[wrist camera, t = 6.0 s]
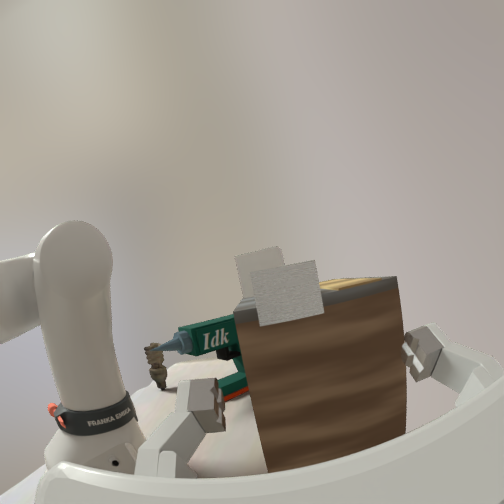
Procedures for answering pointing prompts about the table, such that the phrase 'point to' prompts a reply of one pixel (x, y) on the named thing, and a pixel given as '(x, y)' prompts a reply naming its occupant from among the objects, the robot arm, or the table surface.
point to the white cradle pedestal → (256, 266)
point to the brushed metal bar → (287, 293)
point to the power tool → (213, 349)
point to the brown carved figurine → (156, 365)
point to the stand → (327, 374)
